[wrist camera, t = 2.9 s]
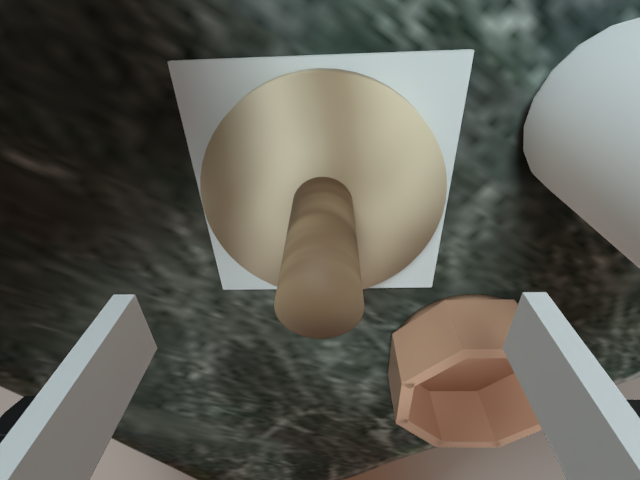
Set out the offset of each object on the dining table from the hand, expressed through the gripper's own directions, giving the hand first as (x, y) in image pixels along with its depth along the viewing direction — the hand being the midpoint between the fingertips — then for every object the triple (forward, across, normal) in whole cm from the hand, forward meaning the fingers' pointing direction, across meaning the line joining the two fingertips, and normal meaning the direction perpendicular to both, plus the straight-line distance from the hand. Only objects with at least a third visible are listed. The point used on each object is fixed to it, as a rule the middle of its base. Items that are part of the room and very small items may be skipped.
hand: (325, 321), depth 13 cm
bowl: (+10, +10, -13) cm, 19 cm away
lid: (+9, 0, 0) cm, 9 cm away
